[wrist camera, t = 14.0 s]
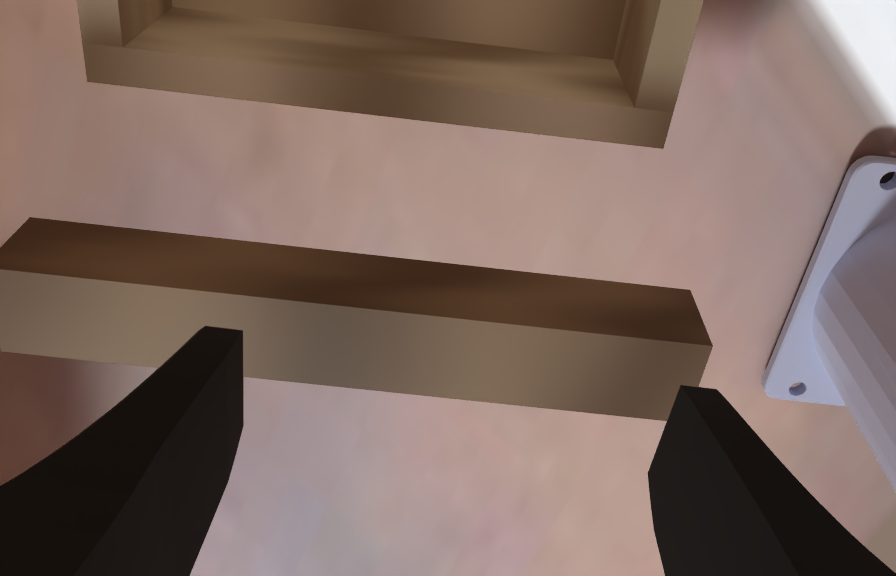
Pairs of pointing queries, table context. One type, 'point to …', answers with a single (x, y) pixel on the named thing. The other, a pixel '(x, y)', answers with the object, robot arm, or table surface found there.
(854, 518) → the table surface
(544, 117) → the open wooden tray
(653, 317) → the brown rectangular block
